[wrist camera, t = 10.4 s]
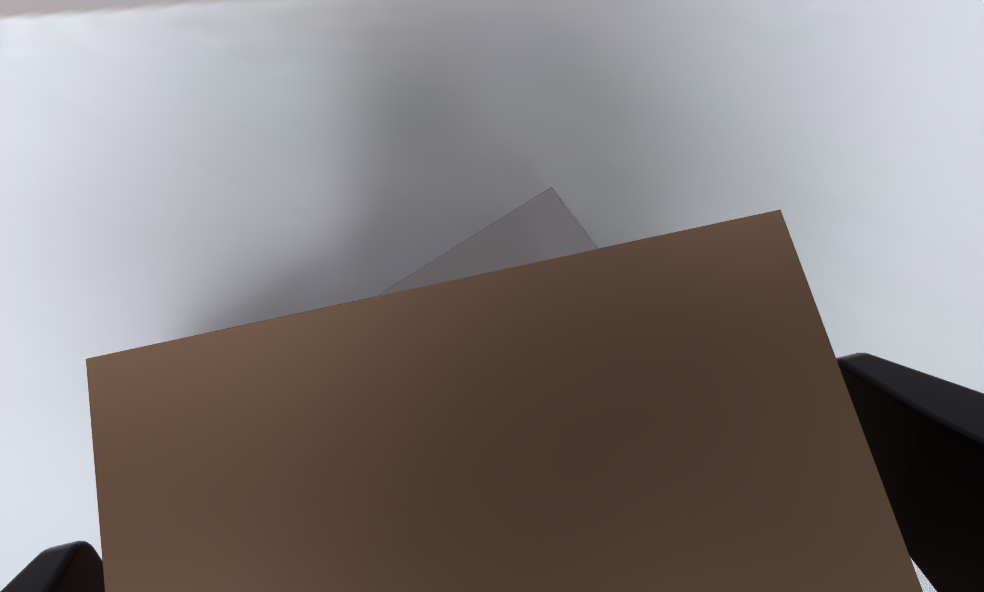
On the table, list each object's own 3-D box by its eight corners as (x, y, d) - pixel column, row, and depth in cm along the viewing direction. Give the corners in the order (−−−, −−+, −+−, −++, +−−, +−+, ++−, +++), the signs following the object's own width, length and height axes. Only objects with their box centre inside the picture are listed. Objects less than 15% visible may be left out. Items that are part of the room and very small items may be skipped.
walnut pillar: (659, 649, 14) (1084, 1025, 4) (379, 727, 13) (169, 1357, 4) (583, 375, 16) (781, 208, 6) (329, 435, 15) (85, 359, 5)
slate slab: (415, 911, 15) (403, 1014, 12) (169, 464, 18) (111, 462, 15) (803, 589, 17) (871, 612, 14) (538, 229, 20) (551, 187, 17)
